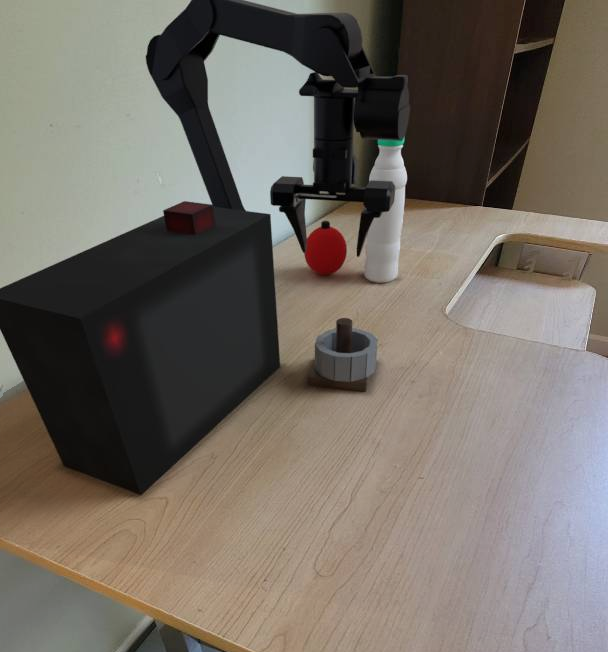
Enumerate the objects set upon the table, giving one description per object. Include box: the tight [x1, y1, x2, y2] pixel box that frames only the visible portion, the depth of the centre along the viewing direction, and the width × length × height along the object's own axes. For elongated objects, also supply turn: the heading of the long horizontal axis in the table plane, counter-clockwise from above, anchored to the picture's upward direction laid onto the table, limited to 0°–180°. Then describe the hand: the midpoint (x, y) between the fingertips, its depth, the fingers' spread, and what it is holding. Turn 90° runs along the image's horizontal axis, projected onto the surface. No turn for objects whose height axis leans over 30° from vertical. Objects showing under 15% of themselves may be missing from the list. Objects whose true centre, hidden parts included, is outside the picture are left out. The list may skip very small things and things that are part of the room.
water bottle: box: [363, 135, 408, 284], centre depth 100 cm, size 7×7×25 cm
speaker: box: [0, 200, 281, 496], centre depth 68 cm, size 15×35×24 cm, turn 152°
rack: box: [308, 317, 372, 392], centre depth 79 cm, size 9×9×8 cm
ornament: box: [303, 220, 348, 276], centre depth 108 cm, size 9×9×10 cm
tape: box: [314, 327, 379, 382], centre depth 80 cm, size 9×9×4 cm
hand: (331, 254), depth 86 cm, fingers open, 9 cm apart
